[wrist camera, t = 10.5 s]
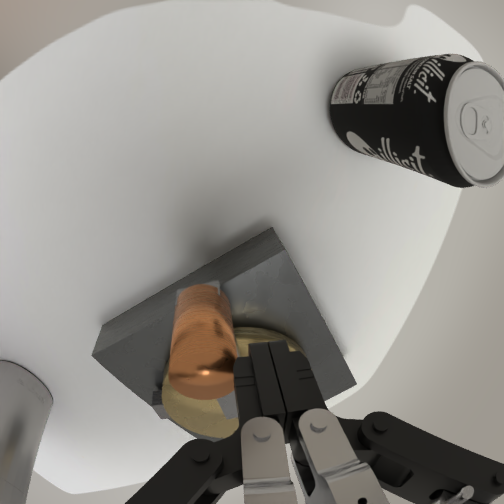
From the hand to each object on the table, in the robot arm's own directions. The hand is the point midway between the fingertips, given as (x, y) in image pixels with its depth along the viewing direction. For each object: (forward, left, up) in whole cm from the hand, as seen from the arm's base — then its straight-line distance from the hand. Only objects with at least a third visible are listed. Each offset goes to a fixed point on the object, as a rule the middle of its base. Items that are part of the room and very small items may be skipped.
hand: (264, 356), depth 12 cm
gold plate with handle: (-5, -6, -8) cm, 11 cm away
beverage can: (+13, +4, -12) cm, 19 cm away
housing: (-6, -9, -12) cm, 16 cm away
